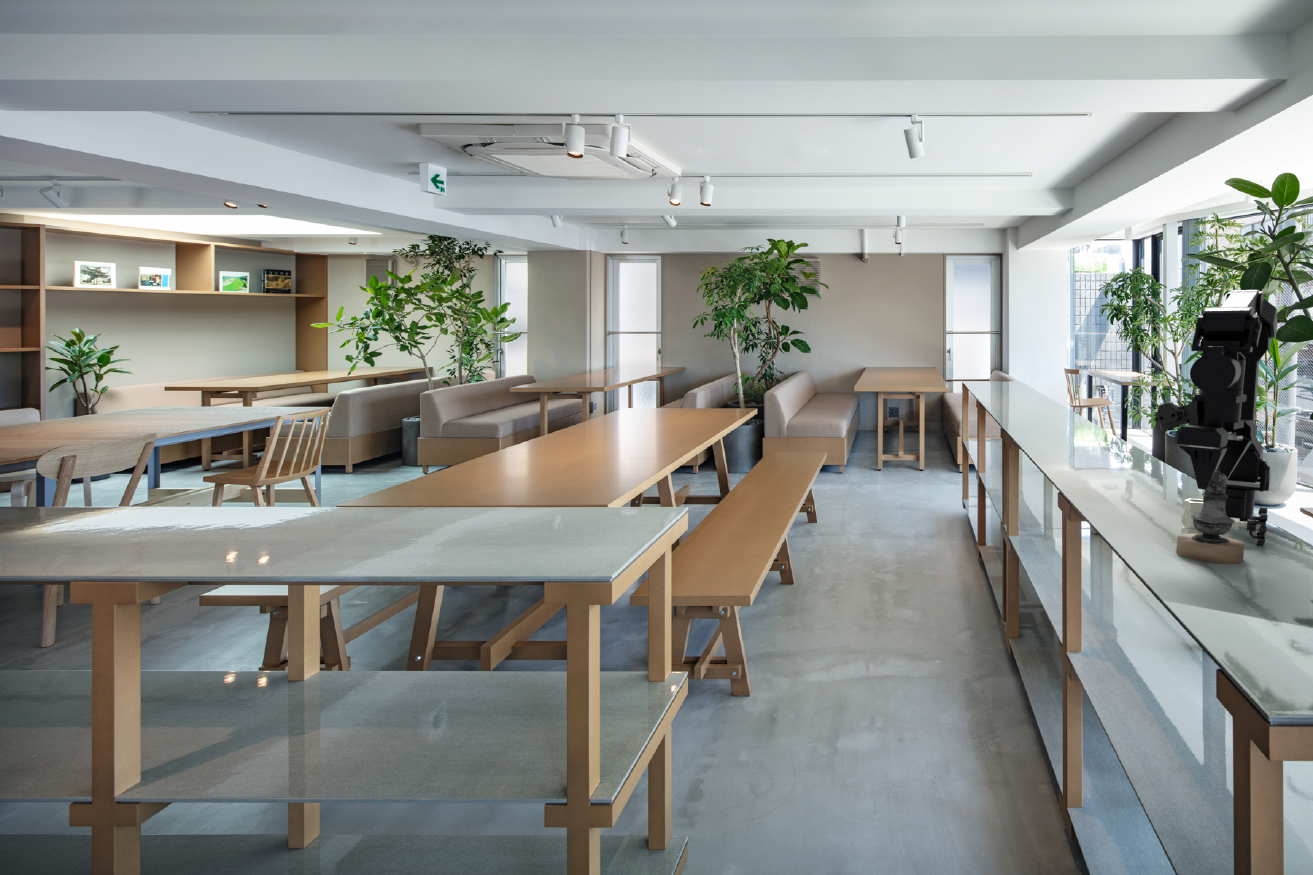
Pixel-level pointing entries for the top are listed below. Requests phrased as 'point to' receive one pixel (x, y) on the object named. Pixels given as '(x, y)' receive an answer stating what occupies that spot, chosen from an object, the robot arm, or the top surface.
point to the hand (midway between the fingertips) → (1212, 485)
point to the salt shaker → (1213, 513)
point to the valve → (1251, 525)
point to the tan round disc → (1210, 550)
